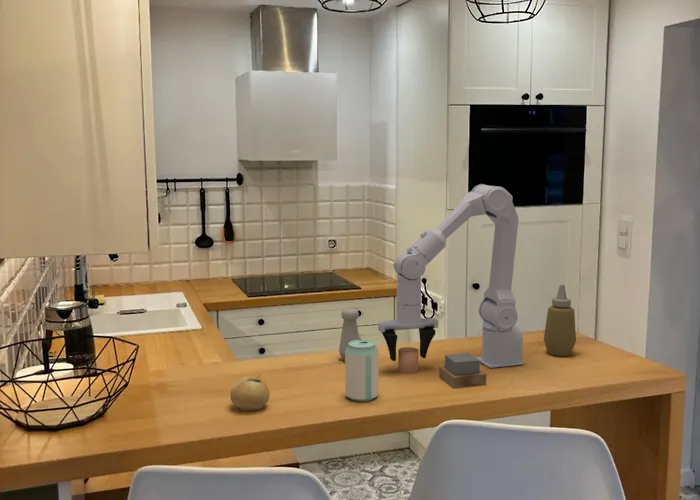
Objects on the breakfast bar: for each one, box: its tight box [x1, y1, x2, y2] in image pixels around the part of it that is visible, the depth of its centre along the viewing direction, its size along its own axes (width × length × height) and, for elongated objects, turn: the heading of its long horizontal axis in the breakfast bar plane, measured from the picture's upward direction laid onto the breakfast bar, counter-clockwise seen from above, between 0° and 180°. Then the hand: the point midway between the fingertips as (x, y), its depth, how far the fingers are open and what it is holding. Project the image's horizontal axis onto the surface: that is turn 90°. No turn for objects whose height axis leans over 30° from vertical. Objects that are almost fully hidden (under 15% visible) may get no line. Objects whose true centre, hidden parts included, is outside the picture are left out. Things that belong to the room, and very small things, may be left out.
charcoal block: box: [444, 352, 481, 375], centre depth 163 cm, size 6×6×3 cm
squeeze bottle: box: [543, 284, 577, 357], centre depth 183 cm, size 8×8×18 cm
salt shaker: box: [338, 307, 361, 362], centre depth 179 cm, size 6×6×13 cm
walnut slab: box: [438, 365, 487, 389], centre depth 164 cm, size 8×8×3 cm
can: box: [344, 339, 379, 402], centre depth 153 cm, size 7×7×12 cm
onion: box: [230, 373, 270, 412], centre depth 148 cm, size 8×8×7 cm
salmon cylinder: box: [397, 346, 419, 374], centre depth 172 cm, size 5×5×5 cm
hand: (408, 358), depth 172 cm, fingers open, 7 cm apart
